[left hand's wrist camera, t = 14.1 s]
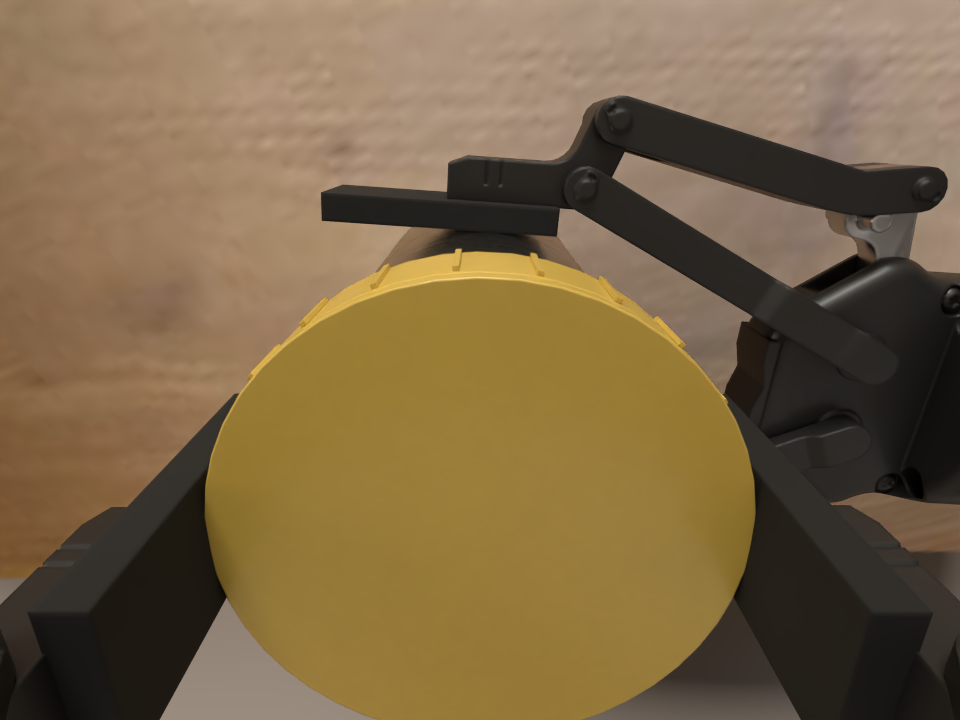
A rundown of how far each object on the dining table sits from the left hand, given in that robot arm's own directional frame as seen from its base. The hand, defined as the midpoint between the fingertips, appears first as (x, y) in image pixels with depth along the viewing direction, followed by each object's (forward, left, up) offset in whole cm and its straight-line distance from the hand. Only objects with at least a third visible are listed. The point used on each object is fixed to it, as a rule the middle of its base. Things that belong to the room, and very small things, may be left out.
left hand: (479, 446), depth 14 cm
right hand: (-5, 0, -6) cm, 7 cm away
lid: (0, 0, +3) cm, 3 cm away
